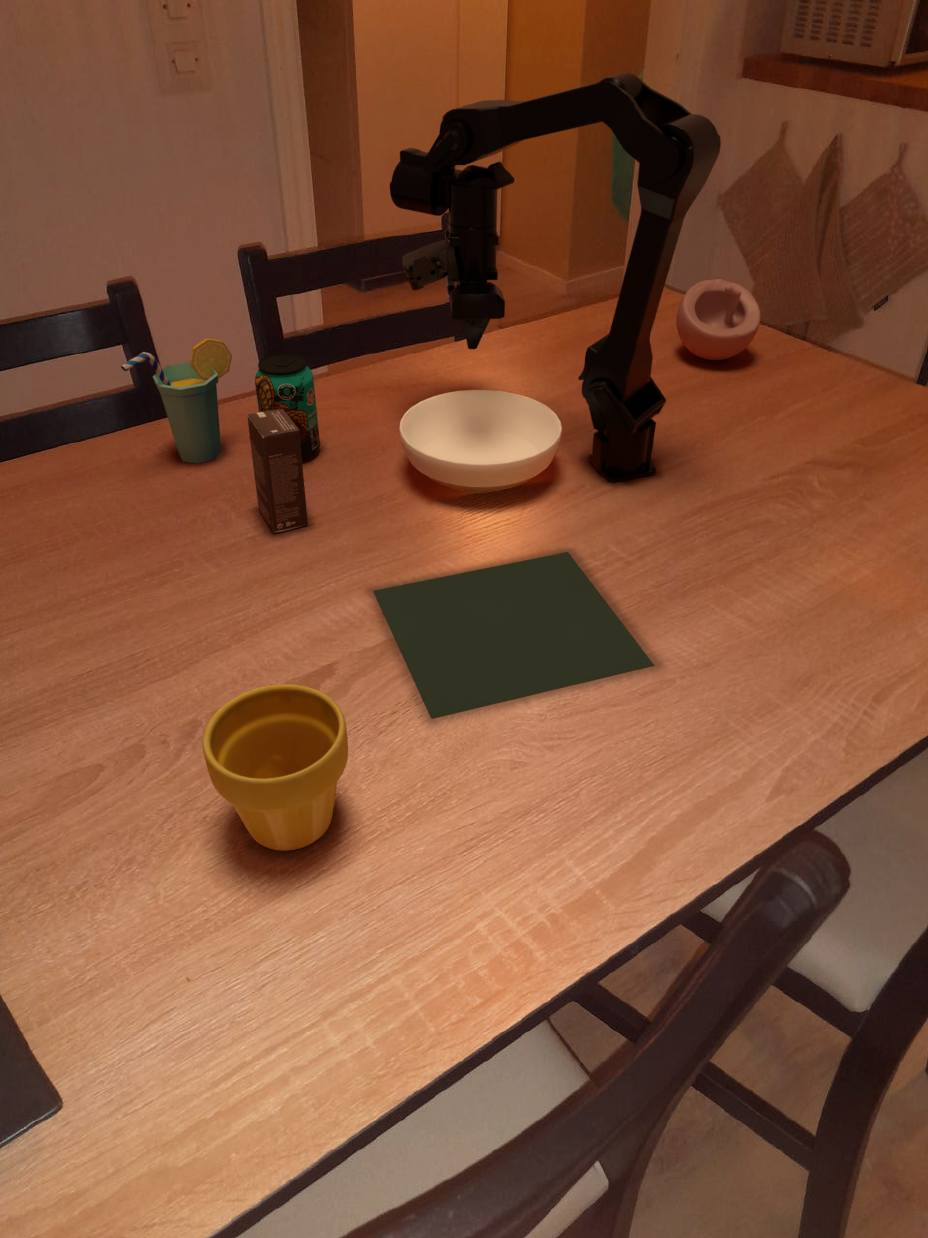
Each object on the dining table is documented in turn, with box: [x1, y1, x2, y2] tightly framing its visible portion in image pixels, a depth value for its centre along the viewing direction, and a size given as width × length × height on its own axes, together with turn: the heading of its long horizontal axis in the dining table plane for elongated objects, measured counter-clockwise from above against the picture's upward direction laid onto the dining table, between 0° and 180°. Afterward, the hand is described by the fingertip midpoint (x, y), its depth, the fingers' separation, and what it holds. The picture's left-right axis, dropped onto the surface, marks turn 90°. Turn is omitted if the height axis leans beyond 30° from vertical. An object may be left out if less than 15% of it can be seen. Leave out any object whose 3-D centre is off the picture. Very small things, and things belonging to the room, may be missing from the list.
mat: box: [372, 551, 655, 720], centre depth 95 cm, size 22×20×1 cm
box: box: [247, 409, 309, 534], centre depth 107 cm, size 6×4×12 cm
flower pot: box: [202, 683, 349, 852], centre depth 73 cm, size 10×10×10 cm
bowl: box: [398, 389, 563, 494], centre depth 118 cm, size 20×20×6 cm
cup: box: [120, 337, 233, 465], centre depth 118 cm, size 14×8×15 cm, turn 139°
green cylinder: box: [254, 352, 321, 462], centre depth 119 cm, size 7×7×12 cm
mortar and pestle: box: [675, 278, 762, 361], centre depth 143 cm, size 12×12×11 cm
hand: (472, 348), depth 124 cm, fingers closed
